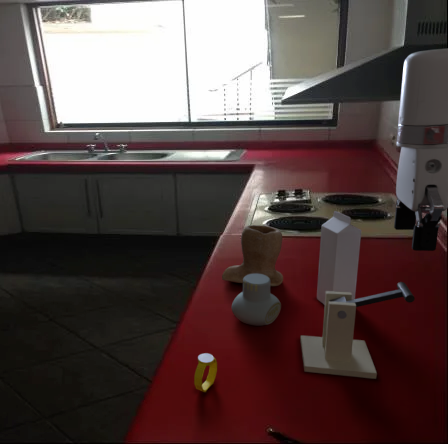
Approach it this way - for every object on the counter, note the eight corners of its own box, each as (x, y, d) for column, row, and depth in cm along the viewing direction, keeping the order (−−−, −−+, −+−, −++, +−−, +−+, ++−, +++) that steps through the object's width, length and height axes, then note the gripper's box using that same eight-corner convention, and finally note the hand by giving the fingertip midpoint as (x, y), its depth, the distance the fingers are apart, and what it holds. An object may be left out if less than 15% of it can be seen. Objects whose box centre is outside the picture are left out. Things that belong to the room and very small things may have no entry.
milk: (338, 295, 102) (345, 208, 95) (354, 306, 96) (363, 215, 90) (315, 299, 101) (322, 211, 94) (331, 311, 95) (338, 219, 89)
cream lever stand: (364, 345, 82) (370, 287, 78) (376, 378, 73) (384, 314, 69) (300, 340, 85) (303, 283, 81) (304, 371, 76) (307, 309, 72)
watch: (205, 399, 71) (204, 370, 69) (190, 394, 72) (189, 365, 70) (221, 379, 75) (220, 351, 73) (207, 374, 77) (206, 346, 75)
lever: (407, 290, 74) (403, 278, 74) (416, 304, 70) (412, 291, 69) (331, 307, 79) (328, 296, 78) (335, 321, 74) (331, 309, 74)
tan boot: (285, 273, 115) (287, 222, 110) (280, 293, 105) (282, 237, 100) (231, 268, 121) (230, 218, 116) (221, 286, 110) (220, 232, 106)
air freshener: (260, 336, 87) (260, 293, 84) (226, 323, 93) (226, 282, 90) (284, 314, 95) (286, 274, 92) (252, 303, 100) (253, 265, 97)
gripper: (479, 142, 56) (461, 260, 61) (431, 128, 71) (420, 222, 77) (416, 144, 57) (404, 259, 63) (383, 130, 73) (375, 222, 79)
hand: (413, 238), depth 70 cm, fingers open, 9 cm apart
